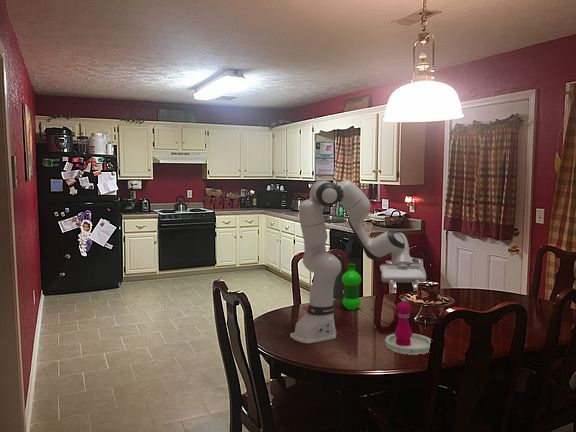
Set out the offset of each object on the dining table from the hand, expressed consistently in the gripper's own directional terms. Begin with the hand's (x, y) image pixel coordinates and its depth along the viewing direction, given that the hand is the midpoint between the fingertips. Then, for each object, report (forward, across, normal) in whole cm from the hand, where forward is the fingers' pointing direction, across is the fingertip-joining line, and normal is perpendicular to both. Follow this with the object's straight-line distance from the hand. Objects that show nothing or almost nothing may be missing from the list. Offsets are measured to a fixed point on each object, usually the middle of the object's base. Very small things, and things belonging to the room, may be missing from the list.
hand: (405, 289), depth 220 cm
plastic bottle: (-17, -21, +49) cm, 56 cm away
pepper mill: (+22, -2, +8) cm, 24 cm away
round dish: (+24, 0, +8) cm, 25 cm away
